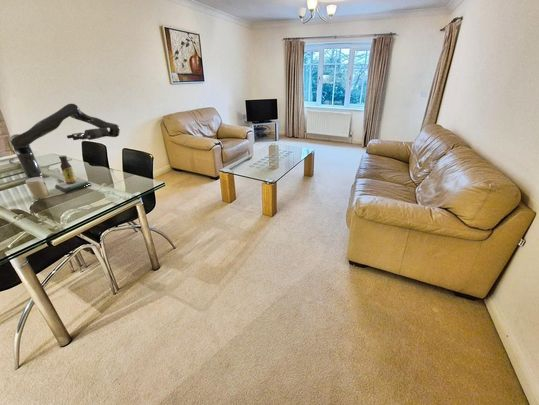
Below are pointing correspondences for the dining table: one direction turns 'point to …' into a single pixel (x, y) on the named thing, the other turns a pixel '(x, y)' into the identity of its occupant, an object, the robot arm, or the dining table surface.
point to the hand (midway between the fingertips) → (70, 137)
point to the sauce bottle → (67, 170)
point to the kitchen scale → (72, 186)
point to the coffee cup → (37, 187)
